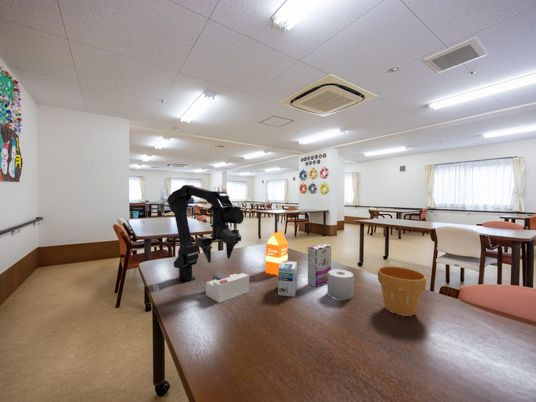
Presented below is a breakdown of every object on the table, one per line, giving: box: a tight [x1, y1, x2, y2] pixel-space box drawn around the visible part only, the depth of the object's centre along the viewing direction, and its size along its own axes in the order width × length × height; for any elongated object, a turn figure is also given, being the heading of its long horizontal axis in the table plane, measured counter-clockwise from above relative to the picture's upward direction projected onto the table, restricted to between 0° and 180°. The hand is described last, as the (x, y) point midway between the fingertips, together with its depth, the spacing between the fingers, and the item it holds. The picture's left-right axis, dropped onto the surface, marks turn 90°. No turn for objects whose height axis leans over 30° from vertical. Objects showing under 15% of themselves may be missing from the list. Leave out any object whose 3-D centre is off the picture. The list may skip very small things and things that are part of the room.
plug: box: [212, 272, 230, 280], centre depth 93 cm, size 10×4×6 cm, turn 45°
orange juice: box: [265, 231, 289, 276], centre depth 118 cm, size 8×9×20 cm
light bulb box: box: [277, 260, 298, 298], centre depth 95 cm, size 11×7×11 cm, turn 168°
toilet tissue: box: [327, 268, 354, 301], centre depth 93 cm, size 9×13×9 cm
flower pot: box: [377, 266, 427, 315], centre depth 79 cm, size 14×14×13 cm
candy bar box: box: [307, 243, 332, 288], centre depth 104 cm, size 11×5×16 cm, turn 131°
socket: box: [205, 272, 250, 304], centre depth 91 cm, size 9×14×7 cm, turn 135°
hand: (219, 260), depth 96 cm, fingers open, 9 cm apart
